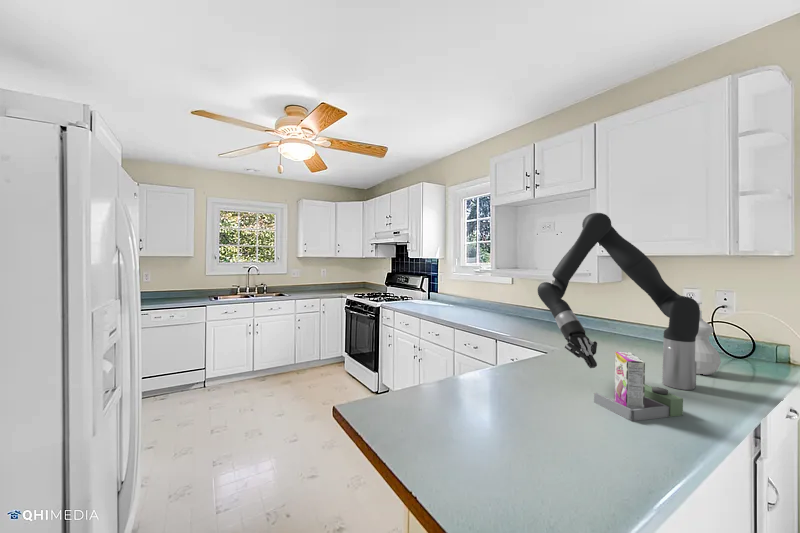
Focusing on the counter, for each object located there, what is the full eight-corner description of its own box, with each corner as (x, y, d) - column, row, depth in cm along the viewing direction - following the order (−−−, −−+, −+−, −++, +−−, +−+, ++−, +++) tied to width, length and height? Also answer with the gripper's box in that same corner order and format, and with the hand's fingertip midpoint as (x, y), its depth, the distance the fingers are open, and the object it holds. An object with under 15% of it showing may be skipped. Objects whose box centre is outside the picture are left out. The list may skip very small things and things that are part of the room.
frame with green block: (640, 397, 118) (641, 379, 118) (682, 415, 104) (683, 395, 104) (594, 402, 113) (594, 383, 113) (631, 421, 100) (632, 400, 100)
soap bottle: (726, 376, 142) (728, 303, 142) (711, 379, 137) (714, 304, 137) (678, 364, 157) (680, 299, 157) (663, 367, 152) (665, 300, 152)
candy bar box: (613, 401, 114) (614, 351, 114) (630, 403, 113) (631, 352, 113) (625, 415, 104) (626, 360, 103) (644, 417, 102) (646, 361, 102)
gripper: (559, 320, 130) (583, 362, 118) (589, 319, 133) (616, 360, 121) (549, 331, 135) (572, 373, 123) (578, 330, 138) (603, 371, 126)
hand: (593, 367), depth 122 cm, fingers closed
